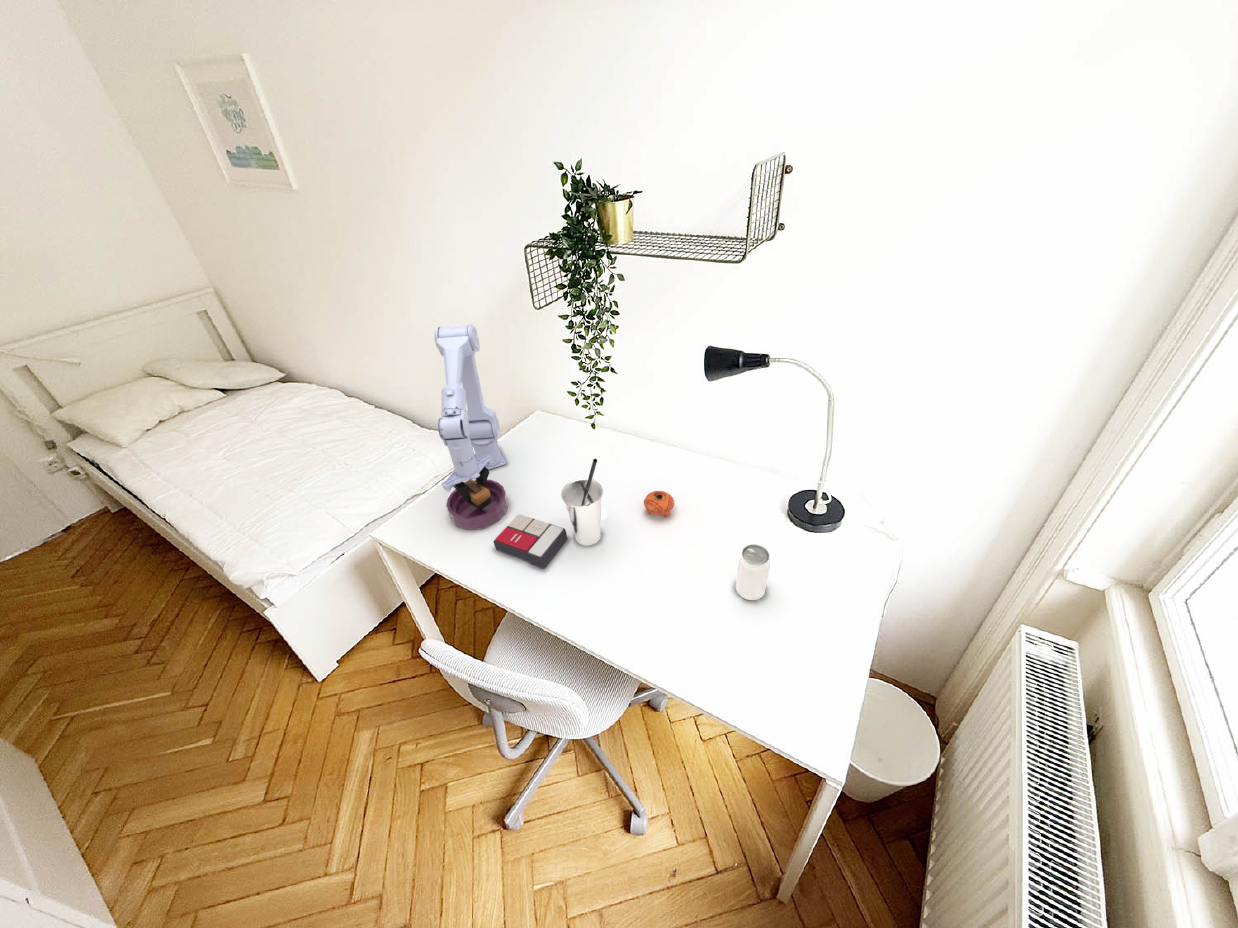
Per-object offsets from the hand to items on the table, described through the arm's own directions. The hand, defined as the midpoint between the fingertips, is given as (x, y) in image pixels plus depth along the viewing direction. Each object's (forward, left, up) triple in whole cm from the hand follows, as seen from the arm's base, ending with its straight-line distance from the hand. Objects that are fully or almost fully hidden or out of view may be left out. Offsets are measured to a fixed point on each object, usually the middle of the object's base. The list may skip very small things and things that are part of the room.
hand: (475, 496), depth 142 cm
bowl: (0, 0, -5) cm, 5 cm away
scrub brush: (0, 0, -2) cm, 2 cm away
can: (+56, +49, -6) cm, 75 cm away
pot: (+24, +43, -6) cm, 50 cm away
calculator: (+19, +9, -6) cm, 22 cm away
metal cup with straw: (+24, +23, -6) cm, 34 cm away
